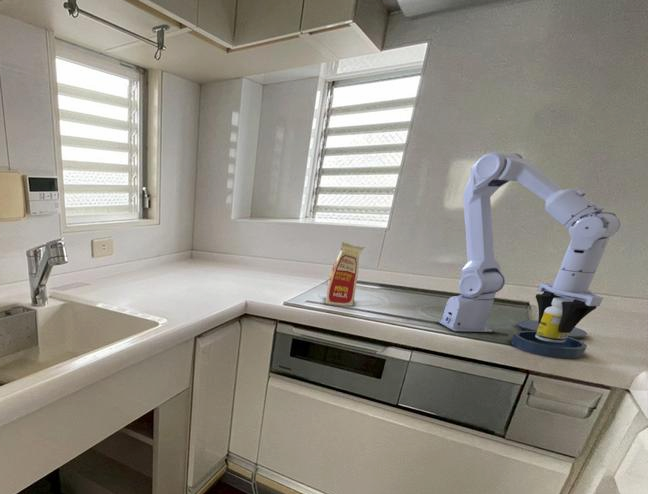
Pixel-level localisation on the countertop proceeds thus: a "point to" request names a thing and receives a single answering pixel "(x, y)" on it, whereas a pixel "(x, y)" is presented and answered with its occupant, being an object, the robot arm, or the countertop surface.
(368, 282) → the countertop surface
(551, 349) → the pot
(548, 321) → the supplement bottle
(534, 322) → the pot lid
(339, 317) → the countertop surface
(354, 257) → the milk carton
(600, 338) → the countertop surface
